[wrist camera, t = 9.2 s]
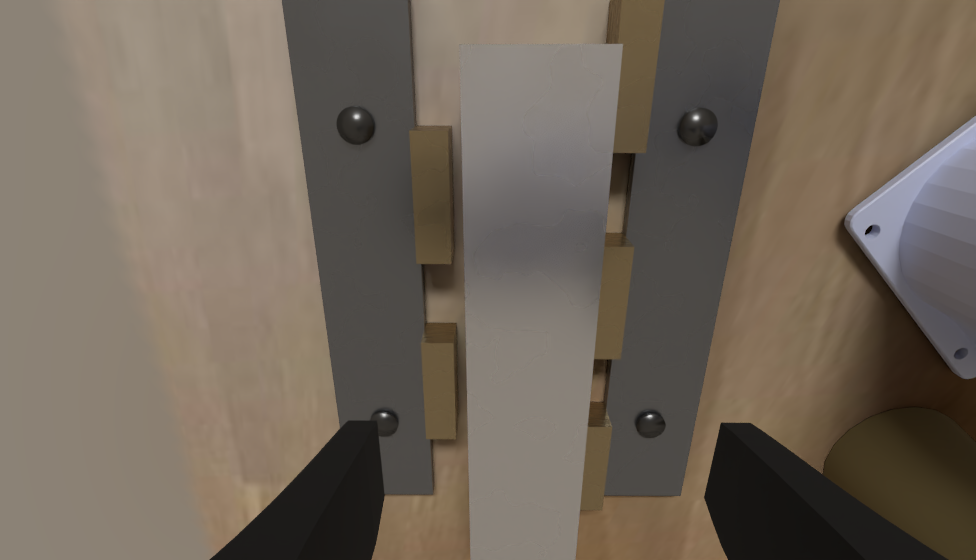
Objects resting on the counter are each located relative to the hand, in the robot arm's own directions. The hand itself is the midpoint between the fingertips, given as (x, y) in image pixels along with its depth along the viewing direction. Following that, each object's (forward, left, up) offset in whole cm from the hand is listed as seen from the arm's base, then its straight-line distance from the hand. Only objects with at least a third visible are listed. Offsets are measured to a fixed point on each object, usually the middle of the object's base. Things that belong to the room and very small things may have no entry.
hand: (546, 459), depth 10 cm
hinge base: (0, 0, -9) cm, 9 cm away
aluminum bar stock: (0, 0, -10) cm, 10 cm away
